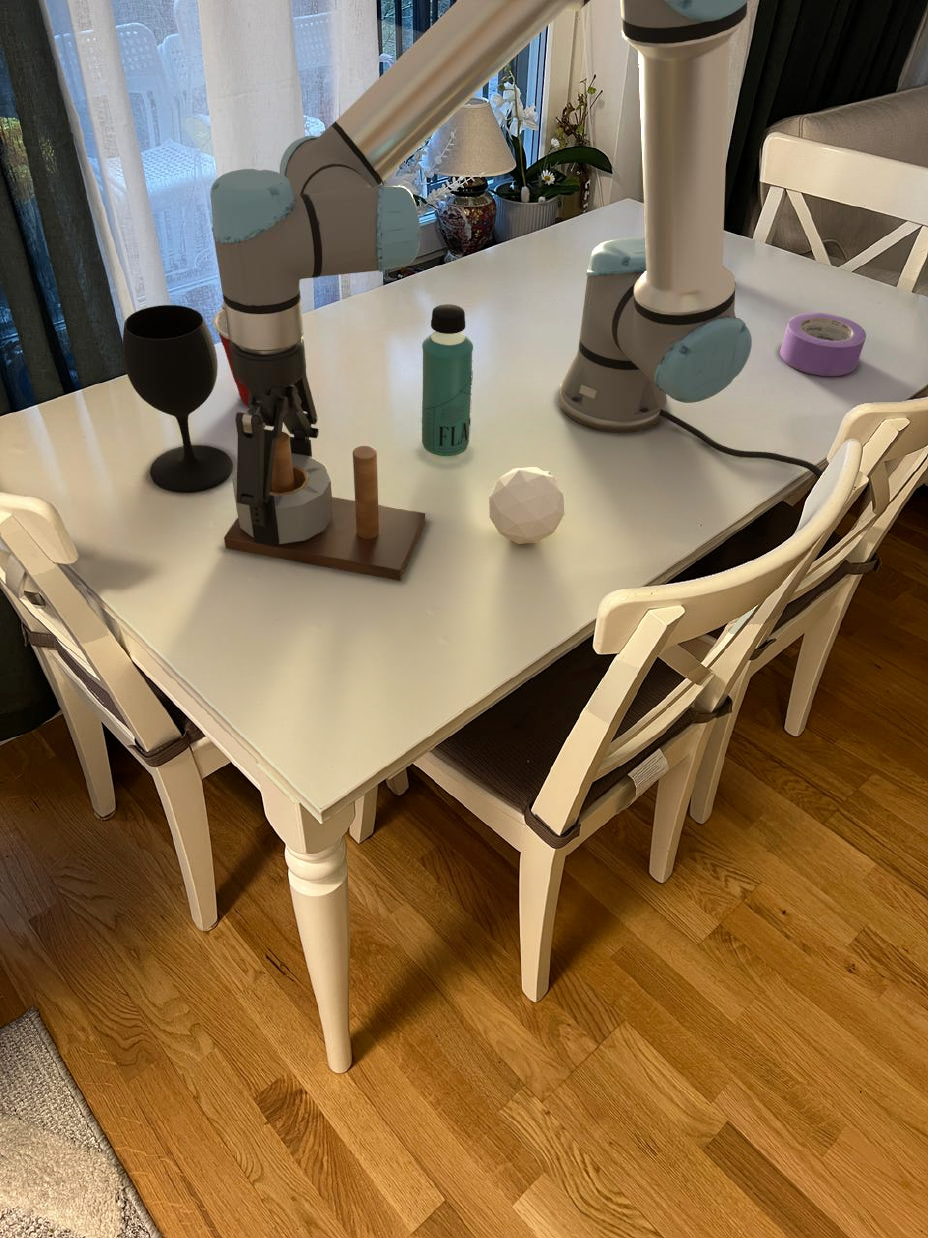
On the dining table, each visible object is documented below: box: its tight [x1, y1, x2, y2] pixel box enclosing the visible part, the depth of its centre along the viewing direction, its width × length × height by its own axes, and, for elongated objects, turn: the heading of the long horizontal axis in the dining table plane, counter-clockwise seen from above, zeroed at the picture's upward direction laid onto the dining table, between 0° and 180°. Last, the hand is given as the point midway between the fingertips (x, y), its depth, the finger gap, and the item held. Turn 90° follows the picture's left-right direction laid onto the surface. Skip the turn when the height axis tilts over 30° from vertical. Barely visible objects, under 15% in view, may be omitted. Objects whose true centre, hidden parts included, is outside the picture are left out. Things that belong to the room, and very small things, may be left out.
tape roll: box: [779, 312, 867, 377], centre depth 147 cm, size 12×12×5 cm
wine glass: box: [122, 304, 234, 494], centre depth 113 cm, size 10×10×20 cm
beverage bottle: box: [420, 303, 474, 457], centre depth 118 cm, size 6×7×20 cm
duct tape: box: [231, 453, 333, 544], centre depth 109 cm, size 11×11×5 cm
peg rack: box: [223, 431, 427, 581], centre depth 107 cm, size 21×11×13 cm, turn 77°
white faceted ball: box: [488, 466, 566, 545], centre depth 111 cm, size 9×9×12 cm
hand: (285, 513), depth 110 cm, fingers closed on duct tape, 11 cm apart
